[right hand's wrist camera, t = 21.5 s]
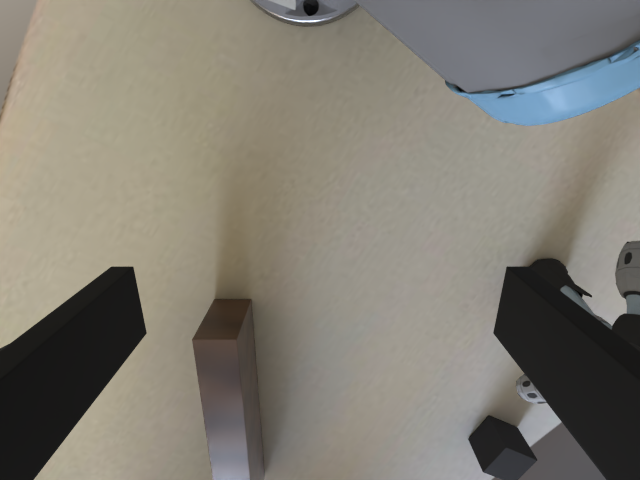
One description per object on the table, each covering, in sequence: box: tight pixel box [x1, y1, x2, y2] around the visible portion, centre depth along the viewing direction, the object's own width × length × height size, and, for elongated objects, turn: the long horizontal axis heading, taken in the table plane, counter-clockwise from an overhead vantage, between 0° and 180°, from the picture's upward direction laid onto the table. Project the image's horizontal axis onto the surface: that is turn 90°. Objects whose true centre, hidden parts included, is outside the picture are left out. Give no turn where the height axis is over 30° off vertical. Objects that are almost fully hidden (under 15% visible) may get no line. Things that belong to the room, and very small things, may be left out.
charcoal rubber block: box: [468, 416, 537, 480], centre depth 48 cm, size 5×5×5 cm
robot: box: [516, 241, 640, 403], centre depth 33 cm, size 20×5×20 cm, turn 156°
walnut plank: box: [192, 299, 265, 480], centre depth 45 cm, size 30×4×8 cm, turn 0°
